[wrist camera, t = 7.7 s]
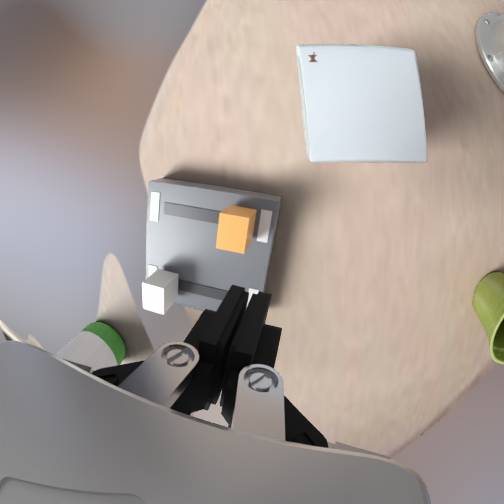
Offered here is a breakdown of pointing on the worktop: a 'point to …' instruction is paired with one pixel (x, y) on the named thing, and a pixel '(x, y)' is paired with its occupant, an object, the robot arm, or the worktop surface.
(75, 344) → the wine bottle
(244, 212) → the block
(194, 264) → the slider switch panel
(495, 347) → the plant pot
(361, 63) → the supplement box
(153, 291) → the white slider switch
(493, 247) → the worktop surface
